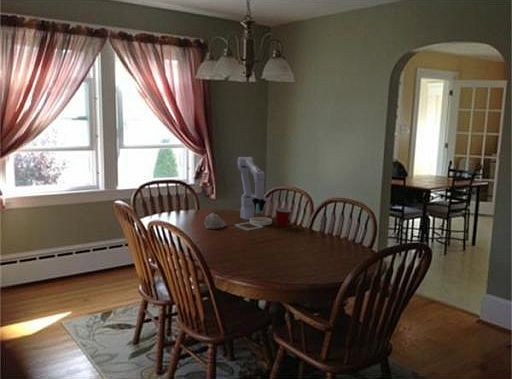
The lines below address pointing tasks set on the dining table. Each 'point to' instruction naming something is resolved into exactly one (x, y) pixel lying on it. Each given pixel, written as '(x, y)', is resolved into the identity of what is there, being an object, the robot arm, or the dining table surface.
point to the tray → (248, 228)
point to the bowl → (261, 220)
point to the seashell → (214, 222)
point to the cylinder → (258, 208)
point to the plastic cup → (282, 216)
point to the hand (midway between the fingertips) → (258, 210)
